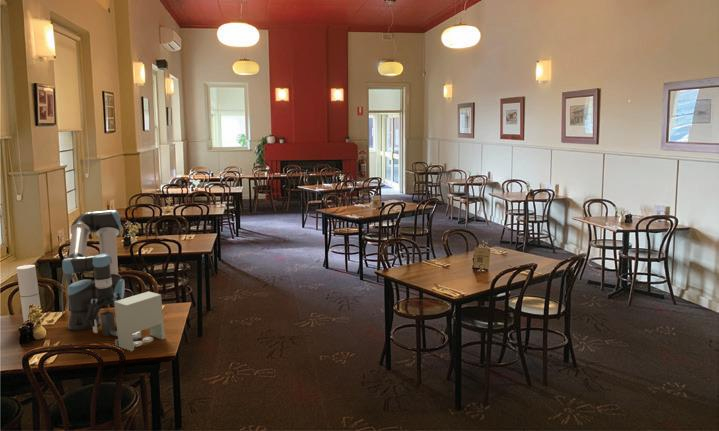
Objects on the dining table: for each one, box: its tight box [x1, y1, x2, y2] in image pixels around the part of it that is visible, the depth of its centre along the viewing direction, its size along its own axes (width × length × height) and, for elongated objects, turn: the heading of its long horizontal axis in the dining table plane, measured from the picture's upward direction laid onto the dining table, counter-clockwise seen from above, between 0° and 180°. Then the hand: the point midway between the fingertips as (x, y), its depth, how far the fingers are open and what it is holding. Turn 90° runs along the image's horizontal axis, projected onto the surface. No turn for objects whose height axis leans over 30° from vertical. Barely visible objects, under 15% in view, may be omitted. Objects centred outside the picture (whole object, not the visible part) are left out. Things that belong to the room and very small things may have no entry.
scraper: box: [100, 311, 143, 347], centre depth 282 cm, size 20×13×11 cm, turn 53°
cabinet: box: [113, 290, 166, 352], centre depth 274 cm, size 10×18×22 cm, turn 143°
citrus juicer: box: [60, 267, 78, 315], centre depth 315 cm, size 11×10×30 cm
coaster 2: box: [141, 336, 155, 344], centre depth 279 cm, size 5×5×1 cm
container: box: [15, 264, 42, 323], centre depth 307 cm, size 9×9×30 cm
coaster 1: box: [133, 340, 143, 348], centre depth 274 cm, size 5×5×1 cm
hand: (108, 328), depth 287 cm, fingers open, 13 cm apart
